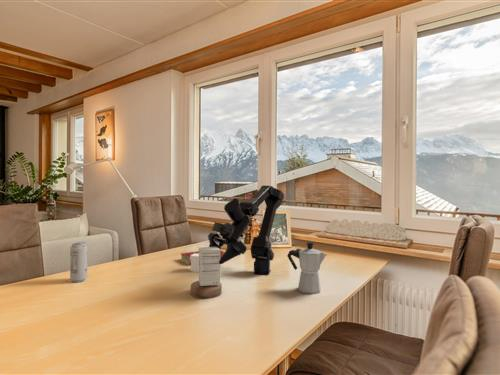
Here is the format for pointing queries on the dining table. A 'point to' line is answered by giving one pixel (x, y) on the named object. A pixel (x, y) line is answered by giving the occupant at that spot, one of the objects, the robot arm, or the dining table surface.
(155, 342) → the dining table surface
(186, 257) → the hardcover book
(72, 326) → the dining table surface
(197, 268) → the shot glass
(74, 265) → the energy drink can
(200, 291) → the walnut pedestal
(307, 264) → the coffee maker
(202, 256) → the supplement box
